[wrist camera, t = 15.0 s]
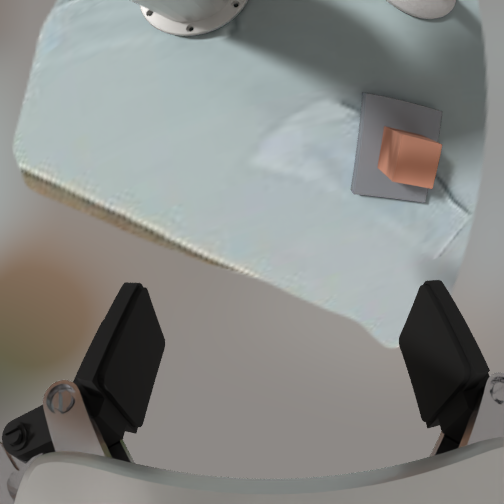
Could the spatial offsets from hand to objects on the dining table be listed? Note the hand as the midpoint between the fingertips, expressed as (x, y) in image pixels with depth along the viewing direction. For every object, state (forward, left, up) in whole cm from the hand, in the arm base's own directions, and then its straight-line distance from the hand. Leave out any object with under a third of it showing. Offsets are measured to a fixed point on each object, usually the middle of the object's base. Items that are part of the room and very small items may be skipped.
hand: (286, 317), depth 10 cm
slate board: (-1, +14, -27) cm, 30 cm away
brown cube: (-1, +14, -25) cm, 29 cm away
